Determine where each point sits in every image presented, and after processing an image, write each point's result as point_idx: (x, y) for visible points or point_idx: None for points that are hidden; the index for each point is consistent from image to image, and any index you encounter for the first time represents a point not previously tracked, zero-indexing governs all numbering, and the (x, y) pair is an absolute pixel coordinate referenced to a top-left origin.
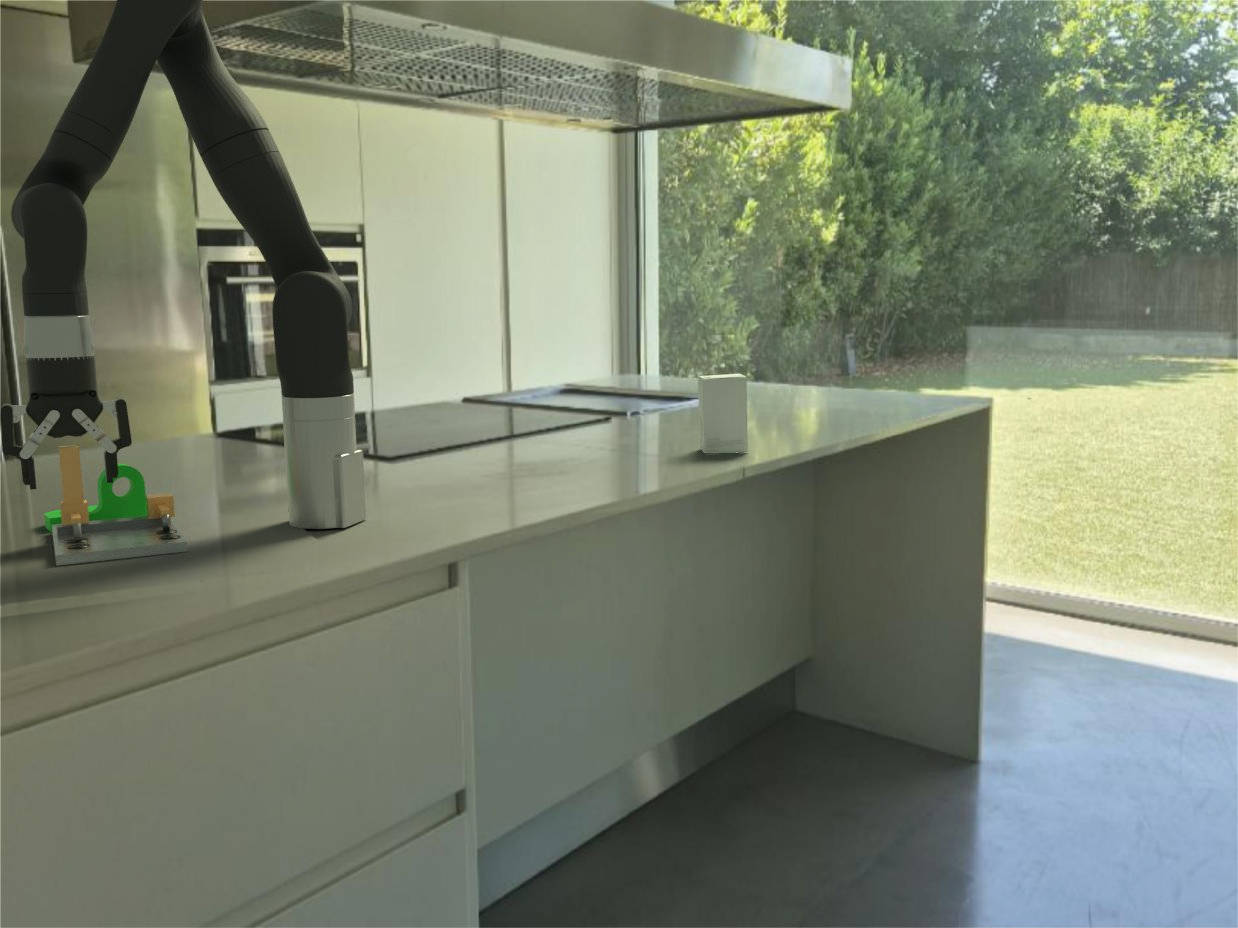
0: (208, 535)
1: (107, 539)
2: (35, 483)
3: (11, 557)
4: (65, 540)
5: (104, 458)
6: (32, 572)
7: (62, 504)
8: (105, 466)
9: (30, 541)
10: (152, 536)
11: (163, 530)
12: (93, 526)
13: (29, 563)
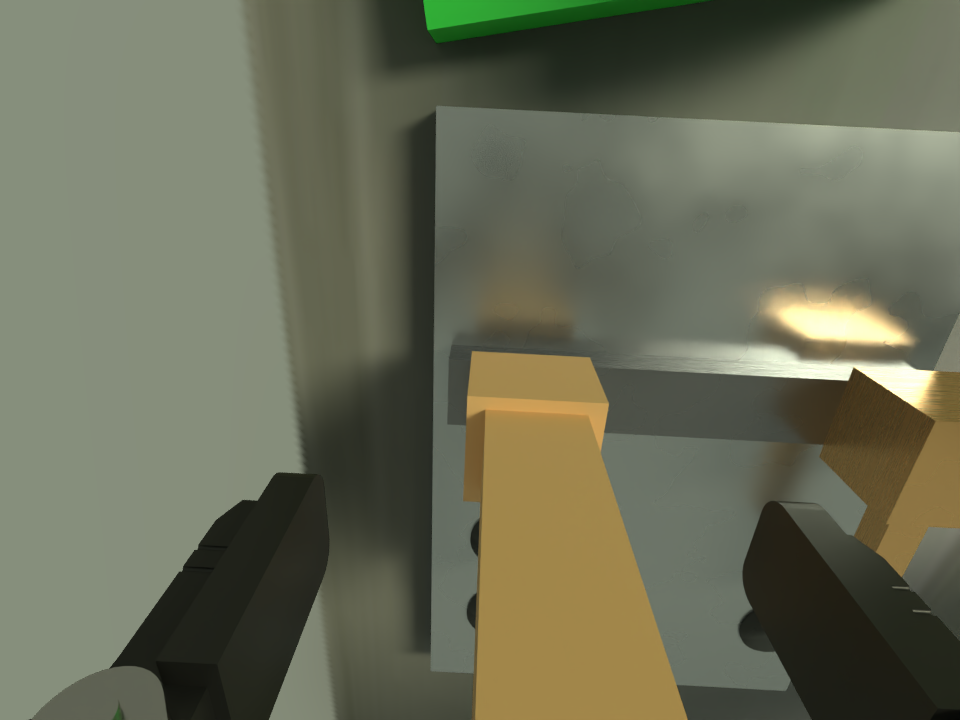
0: None
1: None
2: (316, 589)
3: None
4: (470, 507)
5: (870, 682)
6: (378, 669)
7: (474, 470)
8: (809, 658)
9: (350, 244)
10: (735, 591)
11: None
12: None
13: (366, 584)
